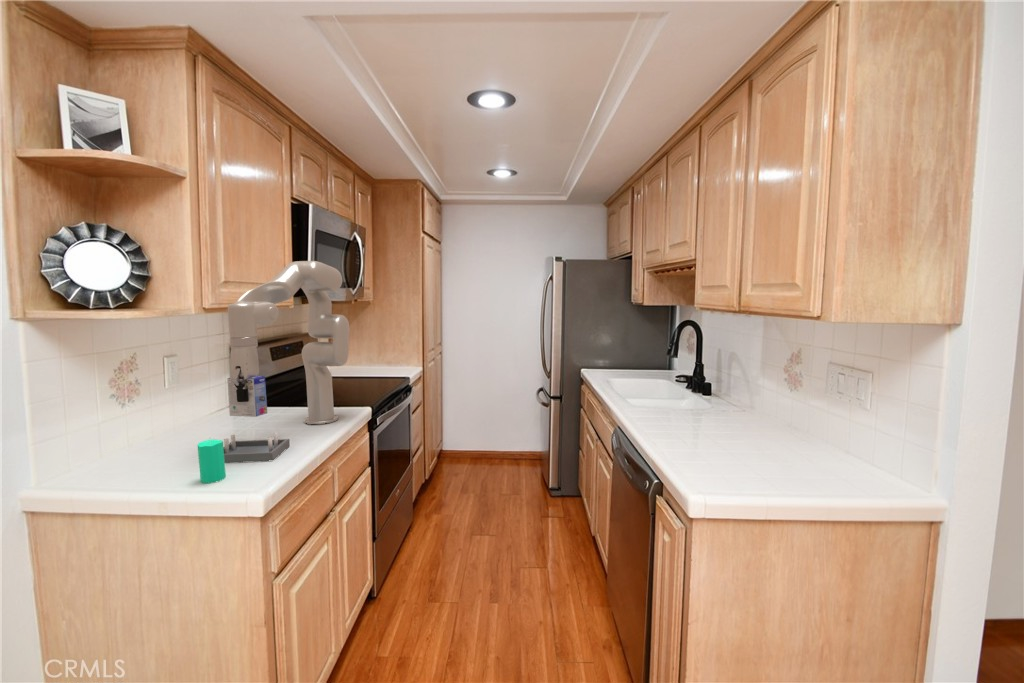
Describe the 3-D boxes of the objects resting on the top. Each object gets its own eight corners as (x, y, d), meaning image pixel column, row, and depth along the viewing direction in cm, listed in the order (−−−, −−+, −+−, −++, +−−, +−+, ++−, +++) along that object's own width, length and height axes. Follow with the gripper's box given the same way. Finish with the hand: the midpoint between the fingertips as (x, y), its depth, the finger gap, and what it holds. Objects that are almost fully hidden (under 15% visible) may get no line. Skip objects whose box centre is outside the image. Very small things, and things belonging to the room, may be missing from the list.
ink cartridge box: (268, 412, 157) (265, 368, 156) (256, 417, 152) (253, 371, 150) (242, 411, 159) (238, 367, 158) (229, 416, 154) (225, 370, 152)
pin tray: (233, 448, 163) (232, 431, 163) (289, 446, 165) (288, 428, 164) (211, 463, 149) (209, 444, 149) (272, 461, 151) (271, 442, 150)
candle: (199, 478, 138) (196, 436, 136) (224, 473, 141) (221, 432, 140) (201, 485, 133) (197, 441, 132) (227, 479, 136) (223, 437, 135)
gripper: (244, 340, 161) (248, 393, 163) (217, 346, 144) (221, 406, 146) (267, 339, 162) (271, 393, 164) (243, 345, 145) (248, 405, 147)
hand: (248, 398), depth 155 cm, fingers closed on ink cartridge box, 6 cm apart
